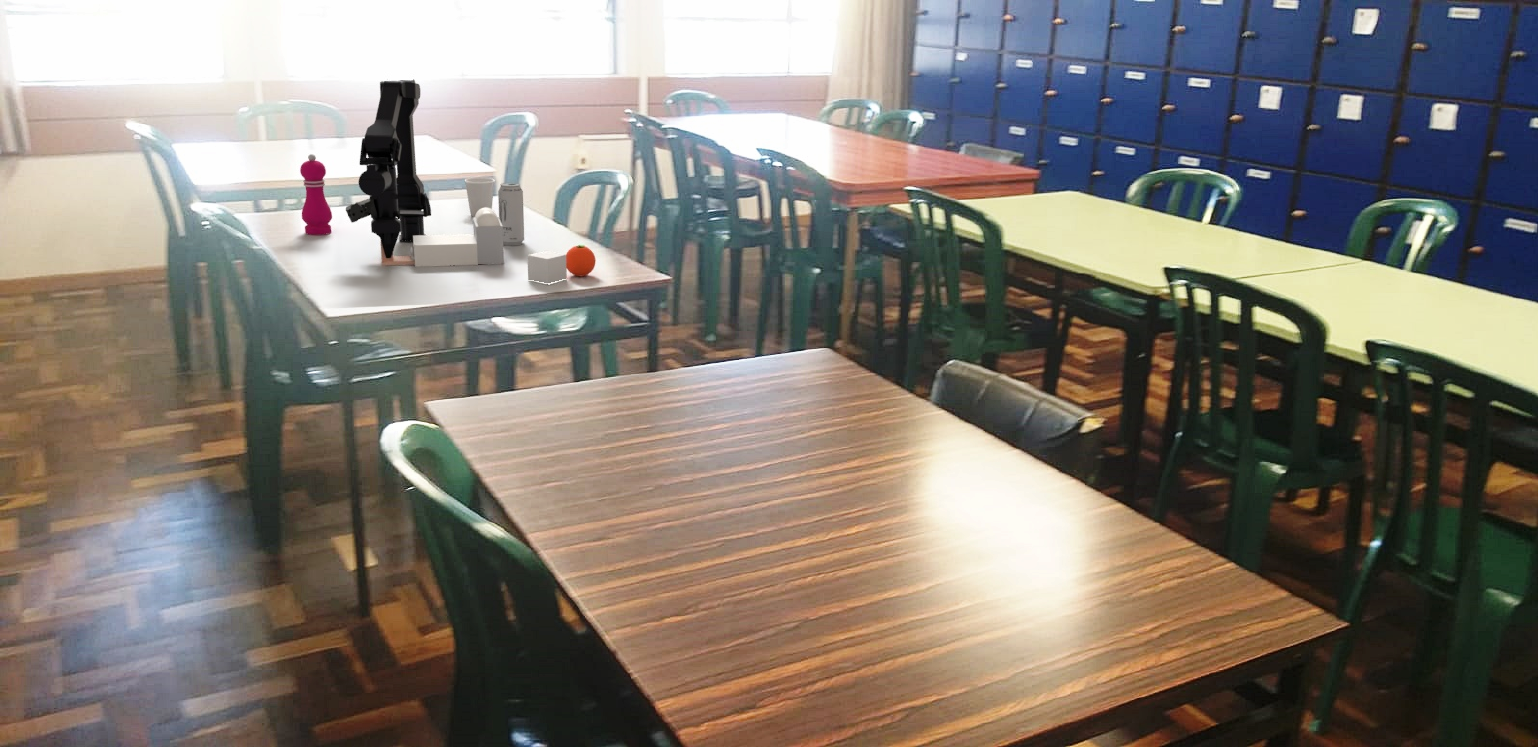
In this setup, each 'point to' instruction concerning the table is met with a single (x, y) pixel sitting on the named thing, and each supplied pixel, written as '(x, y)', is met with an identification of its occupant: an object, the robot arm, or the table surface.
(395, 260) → the l-shaped wooden bracket
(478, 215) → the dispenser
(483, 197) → the dixie cup
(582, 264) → the clementine
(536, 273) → the grey cube
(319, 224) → the pepper mill
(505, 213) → the energy drink can
